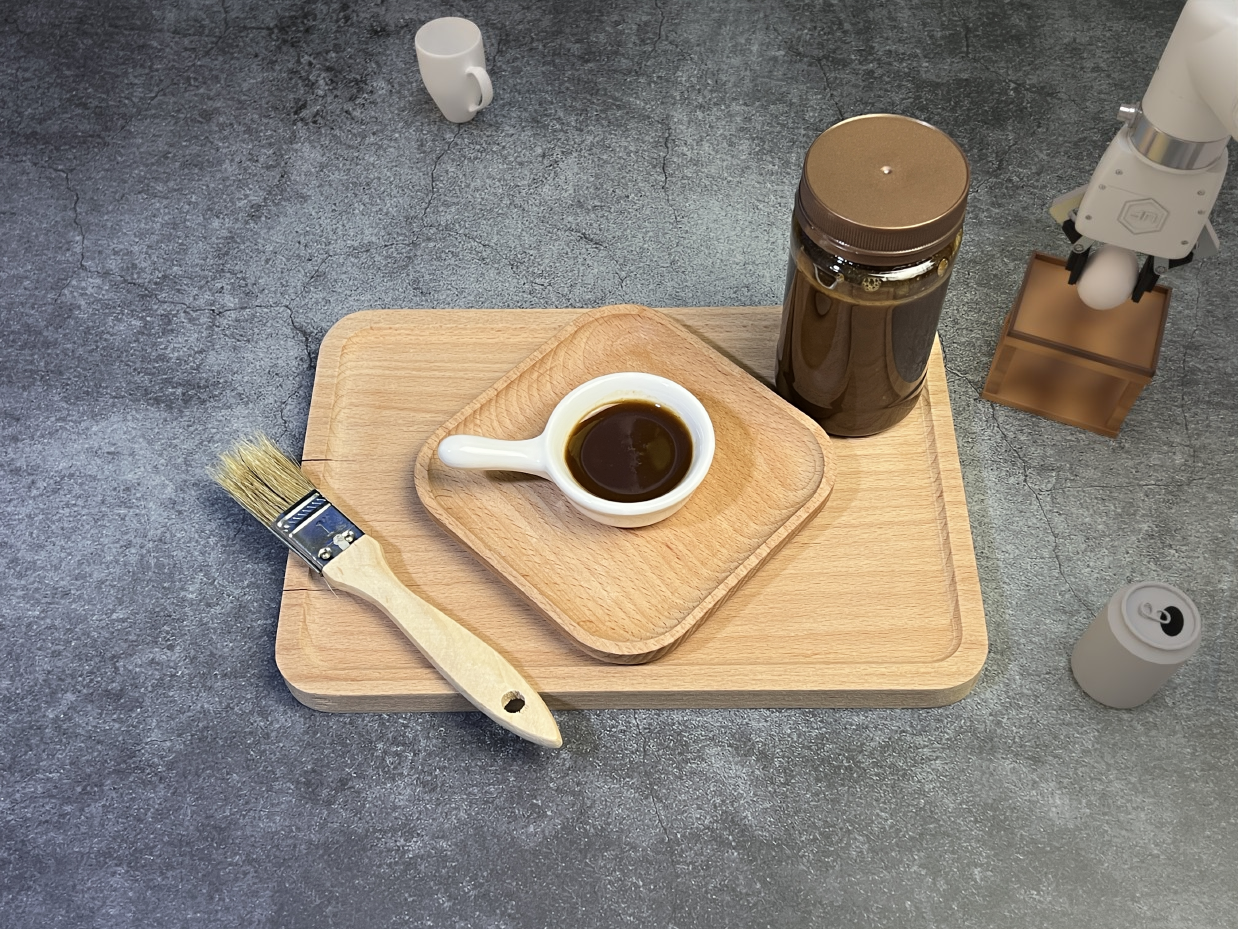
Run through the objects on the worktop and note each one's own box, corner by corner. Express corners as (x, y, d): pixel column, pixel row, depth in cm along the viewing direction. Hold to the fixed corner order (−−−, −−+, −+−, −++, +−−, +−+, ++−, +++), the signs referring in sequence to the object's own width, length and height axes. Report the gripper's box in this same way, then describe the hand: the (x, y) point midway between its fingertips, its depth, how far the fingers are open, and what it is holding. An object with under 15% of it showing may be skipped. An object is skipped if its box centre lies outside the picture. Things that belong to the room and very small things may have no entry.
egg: (1106, 278, 110) (1133, 224, 104) (1133, 316, 107) (1162, 262, 101) (1058, 289, 110) (1082, 235, 104) (1084, 327, 107) (1110, 274, 101)
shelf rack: (1133, 356, 120) (1173, 287, 111) (1115, 439, 114) (1155, 373, 105) (1005, 319, 123) (1033, 249, 114) (980, 398, 117) (1008, 330, 108)
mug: (416, 110, 145) (400, 33, 136) (467, 84, 148) (456, 7, 139) (469, 156, 140) (456, 80, 131) (521, 128, 143) (512, 51, 134)
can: (1145, 725, 96) (1203, 669, 86) (1059, 692, 98) (1106, 633, 88) (1160, 653, 100) (1217, 592, 90) (1077, 623, 102) (1124, 559, 92)
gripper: (1067, 133, 92) (1007, 285, 106) (1285, 186, 87) (1191, 336, 102) (1083, 80, 95) (1023, 234, 110) (1293, 128, 91) (1202, 282, 106)
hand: (1105, 282), depth 106 cm, fingers closed on egg, 5 cm apart
